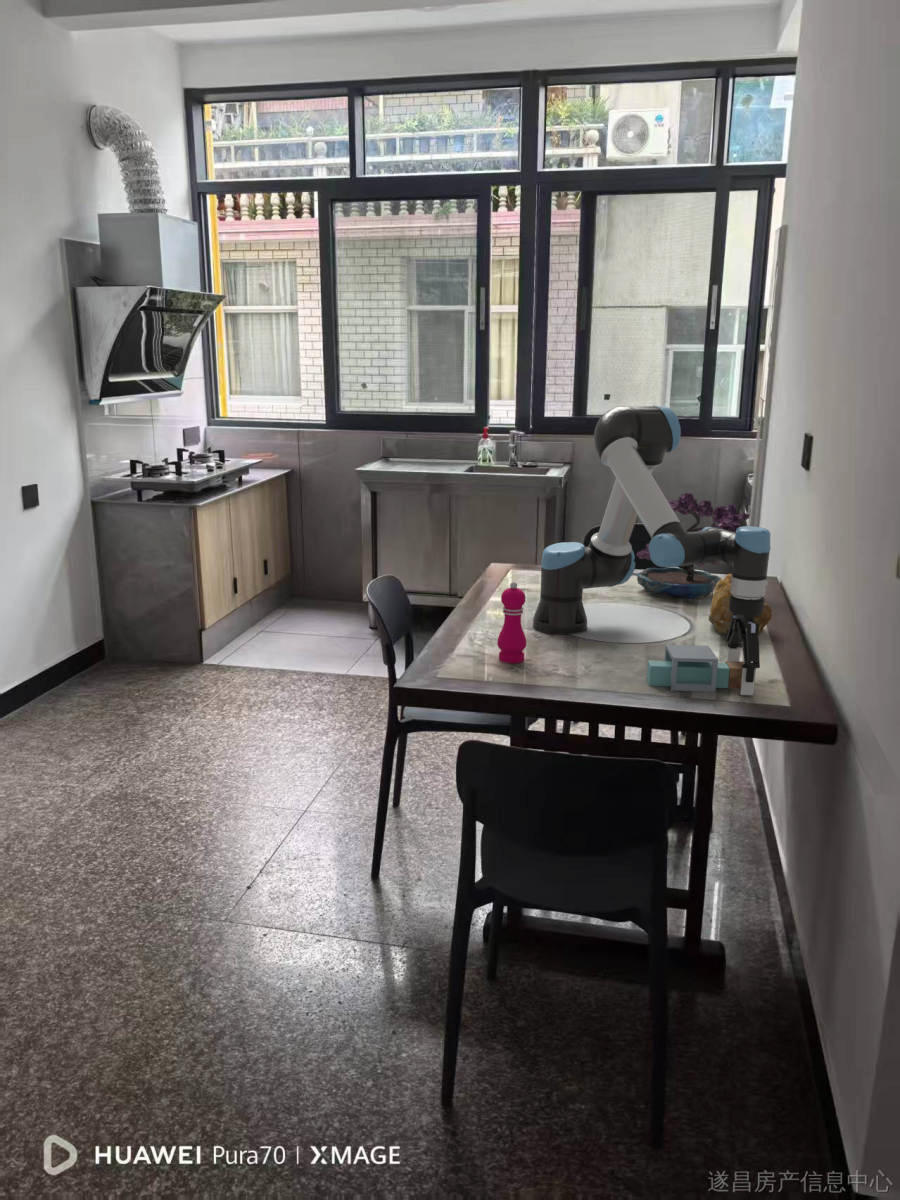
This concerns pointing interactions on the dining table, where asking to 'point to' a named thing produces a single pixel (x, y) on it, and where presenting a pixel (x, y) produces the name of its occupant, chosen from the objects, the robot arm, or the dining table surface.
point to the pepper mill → (512, 626)
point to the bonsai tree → (684, 578)
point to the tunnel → (691, 655)
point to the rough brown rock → (721, 611)
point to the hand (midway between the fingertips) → (739, 684)
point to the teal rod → (686, 673)
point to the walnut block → (735, 674)
